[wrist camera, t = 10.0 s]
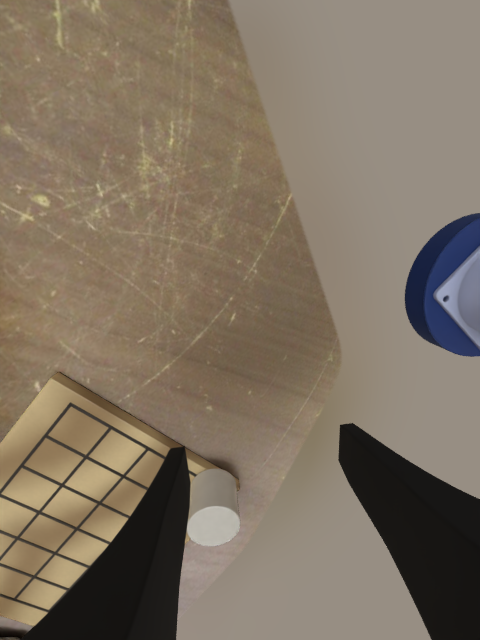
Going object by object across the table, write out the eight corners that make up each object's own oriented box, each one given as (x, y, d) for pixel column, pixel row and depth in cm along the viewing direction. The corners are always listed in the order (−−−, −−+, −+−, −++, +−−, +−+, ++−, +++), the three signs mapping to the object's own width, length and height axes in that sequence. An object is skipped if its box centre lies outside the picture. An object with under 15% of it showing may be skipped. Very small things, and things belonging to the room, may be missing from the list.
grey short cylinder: (245, 481, 23) (251, 520, 19) (217, 510, 23) (218, 553, 20) (209, 460, 22) (208, 498, 18) (180, 492, 22) (175, 534, 19)
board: (239, 479, 24) (240, 490, 23) (91, 629, 27) (86, 644, 26) (58, 371, 19) (49, 378, 18) (-94, 568, 23) (-108, 583, 22)
